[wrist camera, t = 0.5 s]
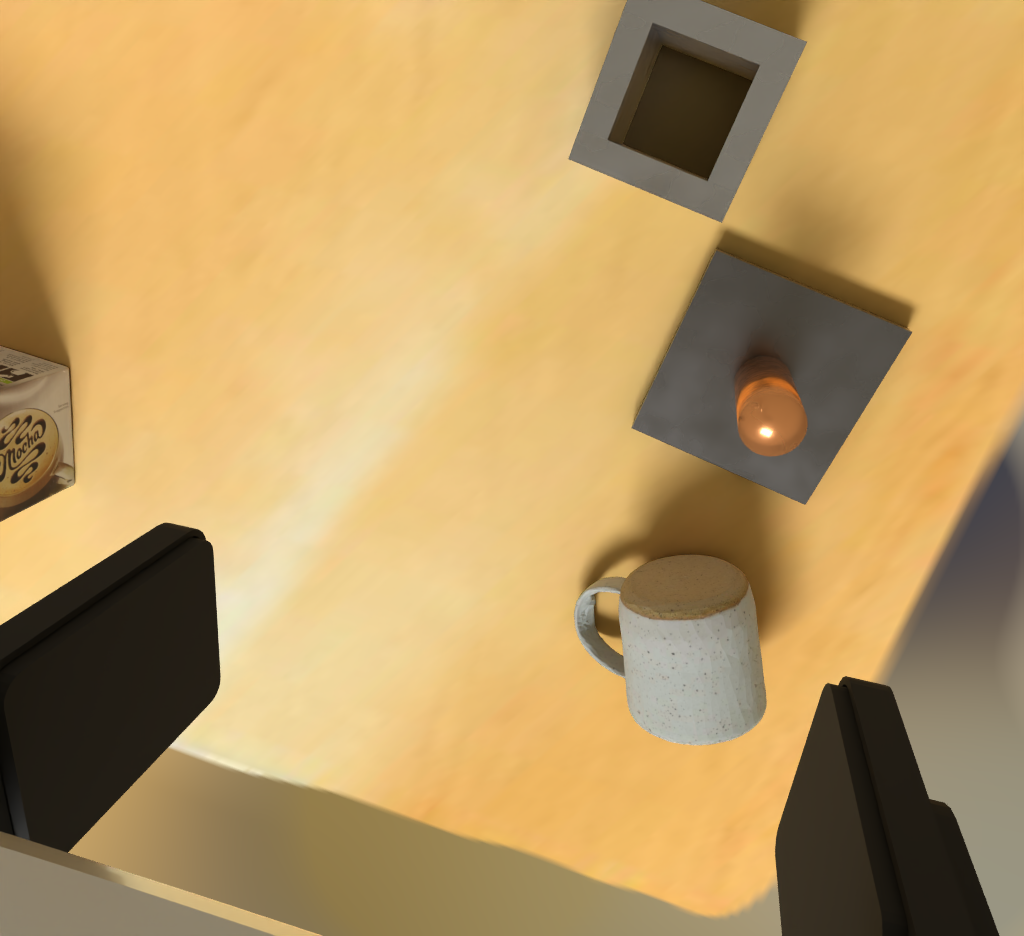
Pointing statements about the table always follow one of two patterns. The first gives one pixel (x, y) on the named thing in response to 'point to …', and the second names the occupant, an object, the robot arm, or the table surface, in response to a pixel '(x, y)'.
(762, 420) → the post
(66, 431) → the coffee box
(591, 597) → the ceramic mug
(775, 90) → the grey square open box
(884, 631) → the table surface
